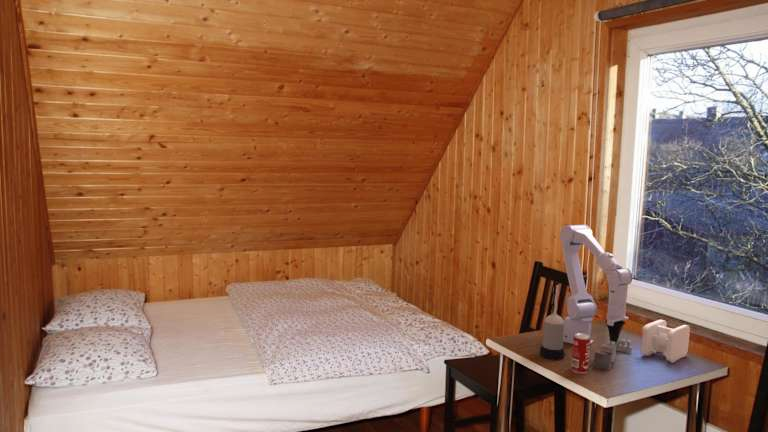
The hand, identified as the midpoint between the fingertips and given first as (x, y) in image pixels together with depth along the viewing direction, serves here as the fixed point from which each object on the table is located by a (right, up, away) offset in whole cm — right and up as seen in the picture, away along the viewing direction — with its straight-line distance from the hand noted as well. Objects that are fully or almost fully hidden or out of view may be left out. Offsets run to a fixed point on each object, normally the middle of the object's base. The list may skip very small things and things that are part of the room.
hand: (613, 340), depth 205 cm
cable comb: (+5, -5, +8) cm, 10 cm away
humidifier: (-22, -5, 0) cm, 22 cm away
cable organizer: (+19, -6, +3) cm, 20 cm away
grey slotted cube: (-4, -6, -5) cm, 9 cm away
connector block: (-7, -7, -10) cm, 14 cm away
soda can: (-17, -7, -14) cm, 23 cm away
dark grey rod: (-1, -5, -1) cm, 5 cm away
